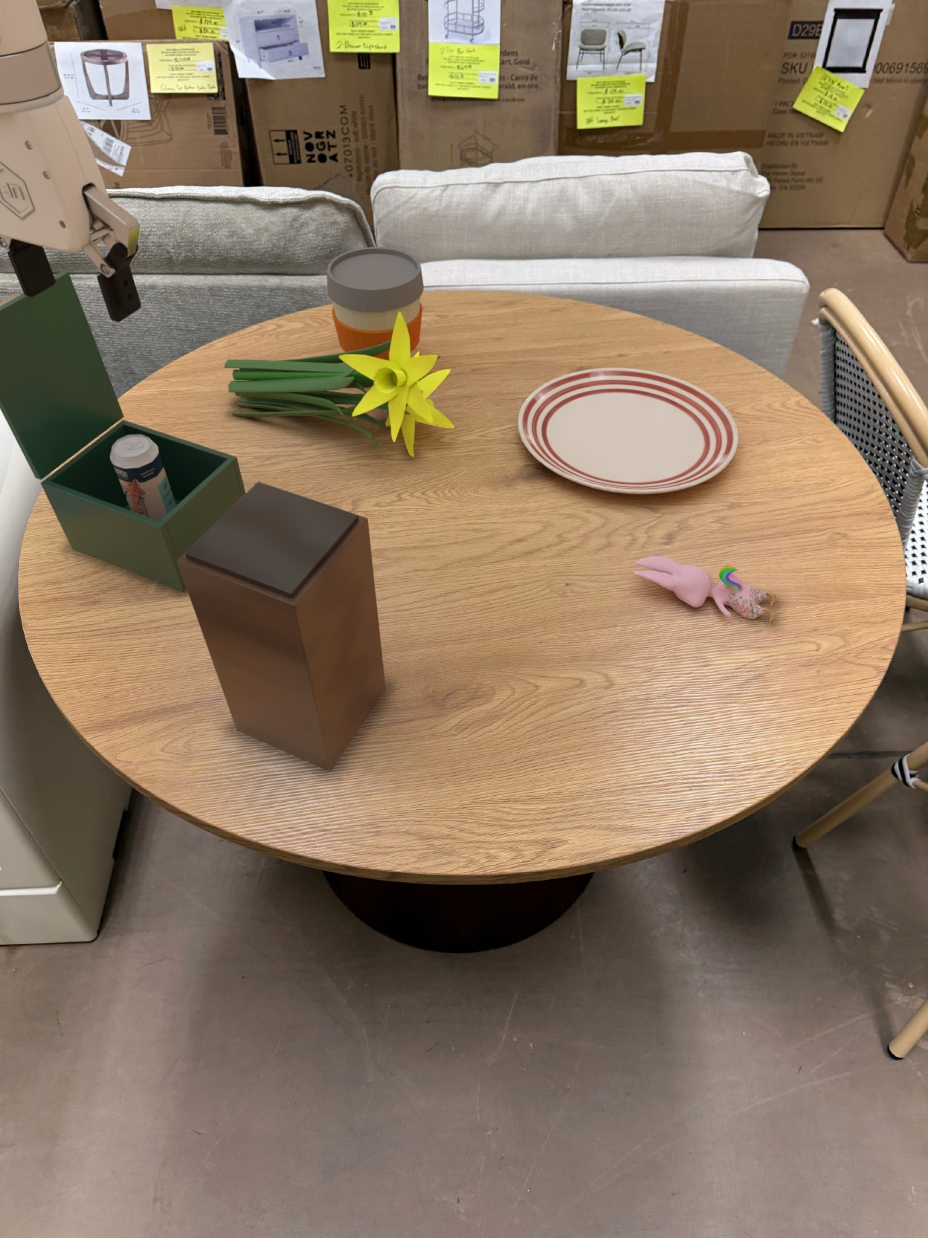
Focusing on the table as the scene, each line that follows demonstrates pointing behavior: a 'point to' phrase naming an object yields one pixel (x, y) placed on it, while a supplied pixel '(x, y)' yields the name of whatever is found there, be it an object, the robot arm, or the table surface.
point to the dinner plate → (628, 430)
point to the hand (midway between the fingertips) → (83, 302)
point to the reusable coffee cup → (375, 296)
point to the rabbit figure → (705, 586)
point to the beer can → (142, 476)
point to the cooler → (130, 539)
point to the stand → (290, 620)
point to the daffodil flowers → (347, 386)
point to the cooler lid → (52, 376)
